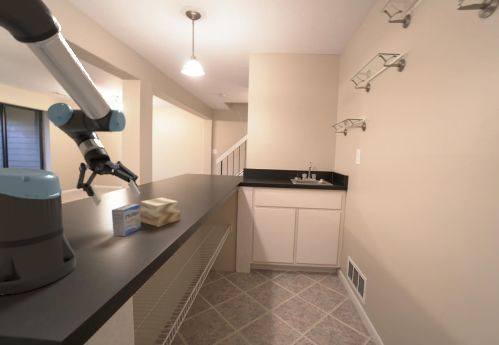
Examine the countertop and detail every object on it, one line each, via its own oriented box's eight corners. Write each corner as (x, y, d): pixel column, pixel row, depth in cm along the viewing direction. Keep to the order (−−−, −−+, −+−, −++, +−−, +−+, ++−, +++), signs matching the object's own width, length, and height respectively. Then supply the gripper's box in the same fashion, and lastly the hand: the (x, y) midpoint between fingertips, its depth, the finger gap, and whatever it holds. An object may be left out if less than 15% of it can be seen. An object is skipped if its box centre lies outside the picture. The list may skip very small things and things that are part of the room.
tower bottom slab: (158, 228, 83) (157, 217, 82) (138, 222, 89) (138, 212, 89) (180, 220, 91) (180, 210, 90) (161, 215, 97) (160, 206, 97)
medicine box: (125, 237, 73) (123, 210, 72) (112, 235, 74) (111, 209, 73) (141, 228, 81) (140, 204, 80) (130, 227, 82) (128, 203, 81)
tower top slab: (156, 217, 83) (156, 206, 82) (141, 211, 89) (140, 201, 89) (178, 211, 90) (177, 201, 89) (162, 206, 96) (161, 197, 96)
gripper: (124, 159, 99) (147, 198, 93) (51, 163, 78) (75, 213, 71) (130, 147, 95) (155, 187, 89) (56, 147, 74) (82, 199, 68)
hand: (119, 199), depth 80 cm, fingers open, 13 cm apart
